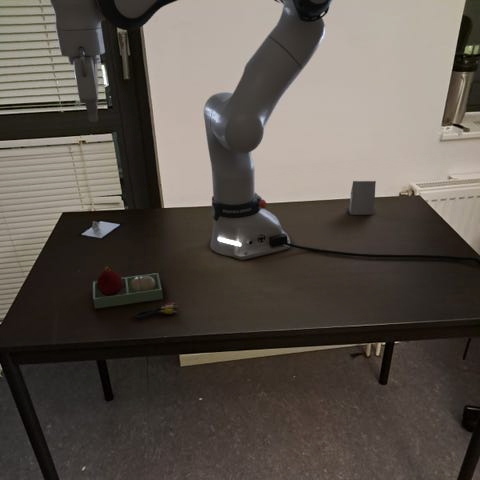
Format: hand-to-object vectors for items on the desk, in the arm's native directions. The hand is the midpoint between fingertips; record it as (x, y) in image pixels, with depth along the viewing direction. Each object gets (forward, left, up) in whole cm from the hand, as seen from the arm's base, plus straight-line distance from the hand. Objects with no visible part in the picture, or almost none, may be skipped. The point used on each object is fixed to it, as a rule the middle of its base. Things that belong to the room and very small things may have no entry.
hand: (93, 115), depth 112 cm
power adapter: (+5, -27, -39) cm, 48 cm away
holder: (-1, +13, -39) cm, 41 cm away
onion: (+3, +13, -39) cm, 41 cm away
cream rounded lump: (-5, +13, -39) cm, 41 cm away
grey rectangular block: (-75, -17, -39) cm, 86 cm away
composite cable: (-7, +23, -39) cm, 46 cm away
